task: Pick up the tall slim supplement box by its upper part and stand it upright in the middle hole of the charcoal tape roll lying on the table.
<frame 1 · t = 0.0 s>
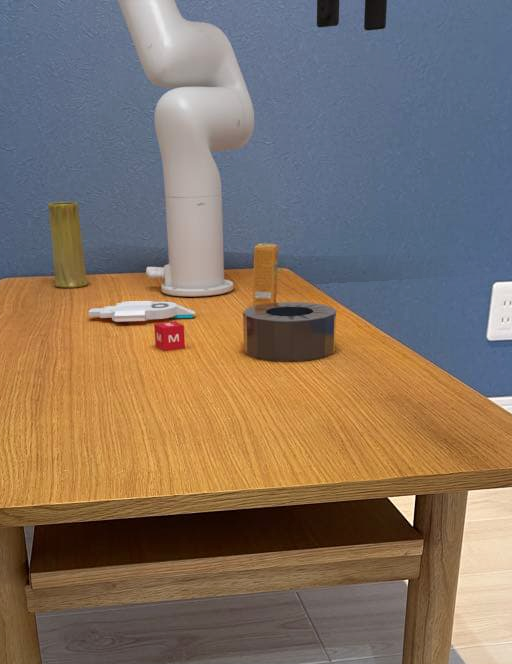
hand: (351, 27, 112), 37 cm above the table, tool pointing down, fingers open, 9 cm apart
vase: (71, 286, 158), on the table
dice: (170, 348, 114), on the table
supplement box: (265, 313, 132), on the table
tape roll: (289, 350, 110), on the table
toy rocket: (142, 320, 130), on the table
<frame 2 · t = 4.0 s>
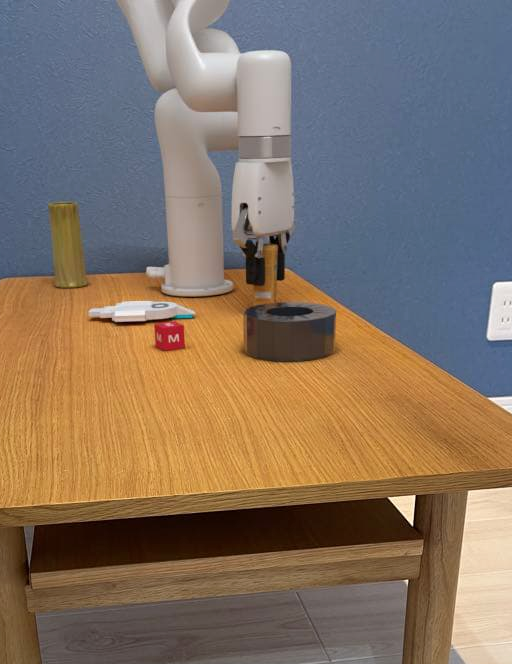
hand: (265, 280, 130), 5 cm above the table, tool pointing down, fingers closed on supplement box, 4 cm apart
supplement box: (265, 313, 132), on the table, touching gripper
everything else where it was.
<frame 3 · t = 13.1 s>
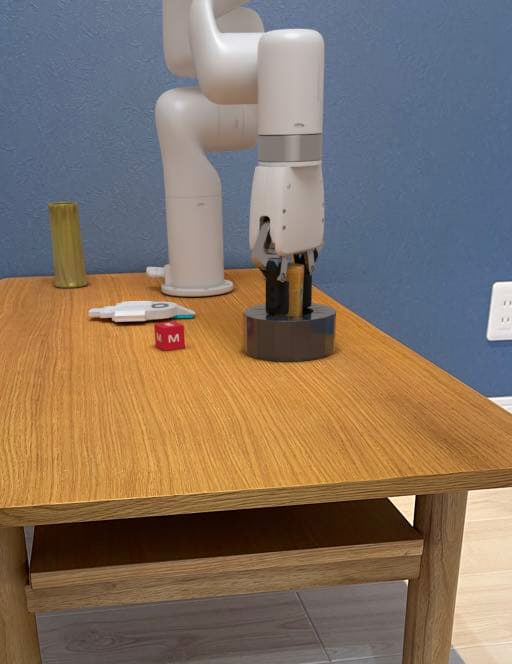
hand: (288, 308, 108), 5 cm above the table, tool pointing down, fingers closed on supplement box, 4 cm apart
supplement box: (288, 346, 111), resting in tape roll, touching gripper
everything else where it was.
when the fingers open (7 cm above the table, at t = 18.4 s): supplement box drops 2 cm, resting on tape roll.
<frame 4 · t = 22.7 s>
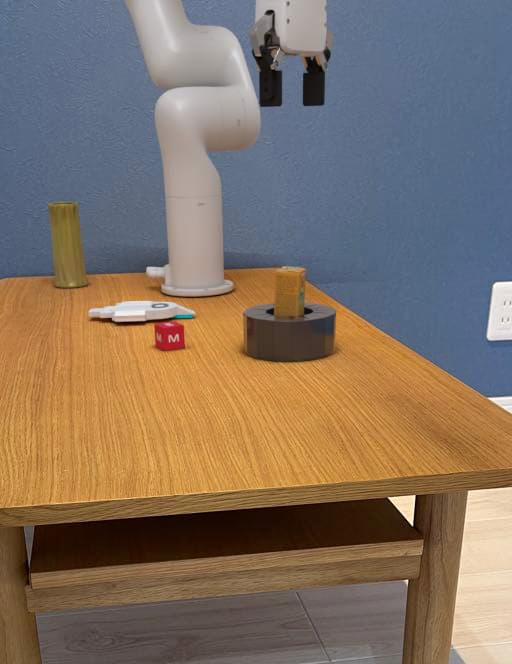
hand: (292, 106, 112), 28 cm above the table, tool pointing down, fingers open, 9 cm apart
supplement box: (289, 349, 111), resting on tape roll
everything else where it was.
at the end: supplement box 0.3 cm off-centre in the tape roll, point 0.0 cm above the tape roll's base; supplement box tilted 0°; the gripper is holding nothing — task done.
